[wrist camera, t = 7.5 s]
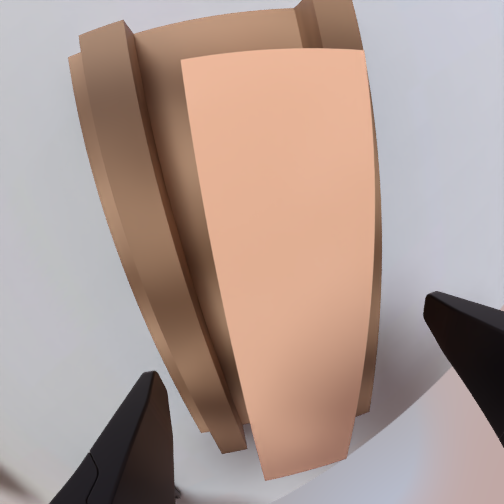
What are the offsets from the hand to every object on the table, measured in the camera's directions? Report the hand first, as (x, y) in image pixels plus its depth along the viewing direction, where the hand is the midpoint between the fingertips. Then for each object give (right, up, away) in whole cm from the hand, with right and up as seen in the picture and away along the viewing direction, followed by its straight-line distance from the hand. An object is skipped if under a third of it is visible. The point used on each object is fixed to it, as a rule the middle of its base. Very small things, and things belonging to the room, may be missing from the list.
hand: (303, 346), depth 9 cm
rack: (-1, +3, +6) cm, 7 cm away
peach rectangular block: (-1, +2, +5) cm, 6 cm away
